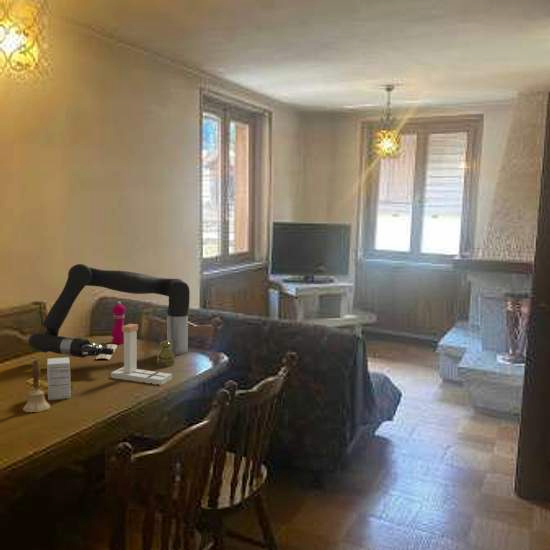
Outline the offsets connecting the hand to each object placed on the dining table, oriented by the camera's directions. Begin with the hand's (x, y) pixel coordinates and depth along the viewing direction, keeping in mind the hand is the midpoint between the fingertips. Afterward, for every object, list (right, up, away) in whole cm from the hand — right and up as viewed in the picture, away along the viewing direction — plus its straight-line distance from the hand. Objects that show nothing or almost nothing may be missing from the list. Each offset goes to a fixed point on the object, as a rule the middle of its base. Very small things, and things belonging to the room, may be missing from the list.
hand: (112, 351), depth 218 cm
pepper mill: (-11, -3, +50) cm, 51 cm away
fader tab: (+8, -7, -2) cm, 11 cm away
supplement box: (-11, -12, -24) cm, 30 cm away
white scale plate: (+12, -10, -3) cm, 16 cm away
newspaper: (-11, -6, +31) cm, 34 cm away
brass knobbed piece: (+18, -8, +17) cm, 26 cm away
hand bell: (-14, -13, -36) cm, 41 cm away
